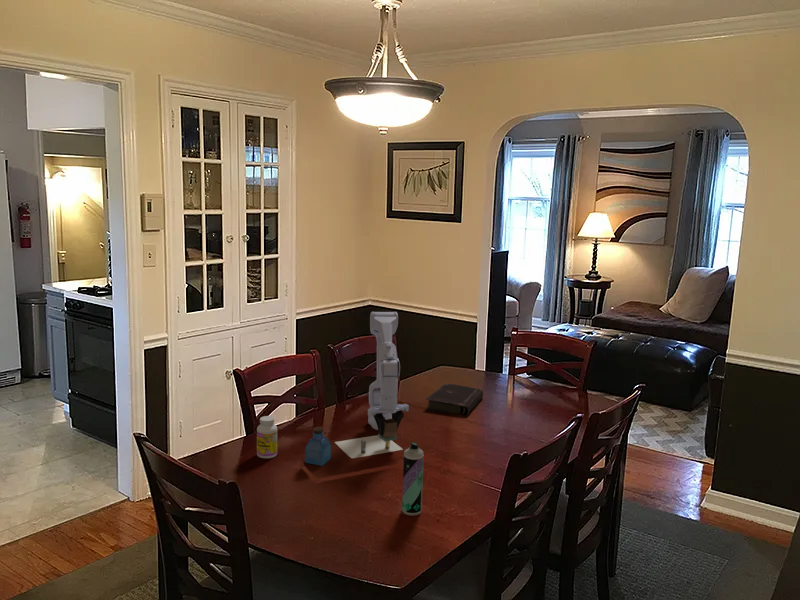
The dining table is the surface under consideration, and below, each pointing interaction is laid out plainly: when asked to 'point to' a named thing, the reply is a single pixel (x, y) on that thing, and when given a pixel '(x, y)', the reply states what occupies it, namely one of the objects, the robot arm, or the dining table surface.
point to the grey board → (372, 446)
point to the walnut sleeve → (389, 430)
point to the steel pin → (363, 446)
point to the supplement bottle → (267, 438)
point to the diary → (454, 399)
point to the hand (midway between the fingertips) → (387, 433)
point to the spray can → (412, 480)
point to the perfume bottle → (318, 448)
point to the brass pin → (387, 444)
